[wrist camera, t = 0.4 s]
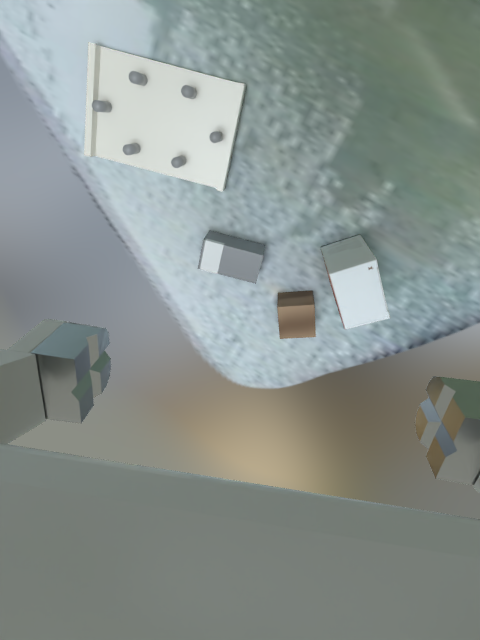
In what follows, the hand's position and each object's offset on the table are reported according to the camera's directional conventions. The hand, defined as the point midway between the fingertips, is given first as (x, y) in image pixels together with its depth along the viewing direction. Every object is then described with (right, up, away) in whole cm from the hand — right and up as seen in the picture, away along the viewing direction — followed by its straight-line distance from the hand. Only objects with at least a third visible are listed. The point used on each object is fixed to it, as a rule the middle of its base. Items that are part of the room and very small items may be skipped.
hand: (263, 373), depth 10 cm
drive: (-1, +11, +45) cm, 47 cm away
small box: (+15, +9, +45) cm, 48 cm away
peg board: (-10, +26, +38) cm, 47 cm away
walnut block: (+8, +3, +48) cm, 49 cm away
